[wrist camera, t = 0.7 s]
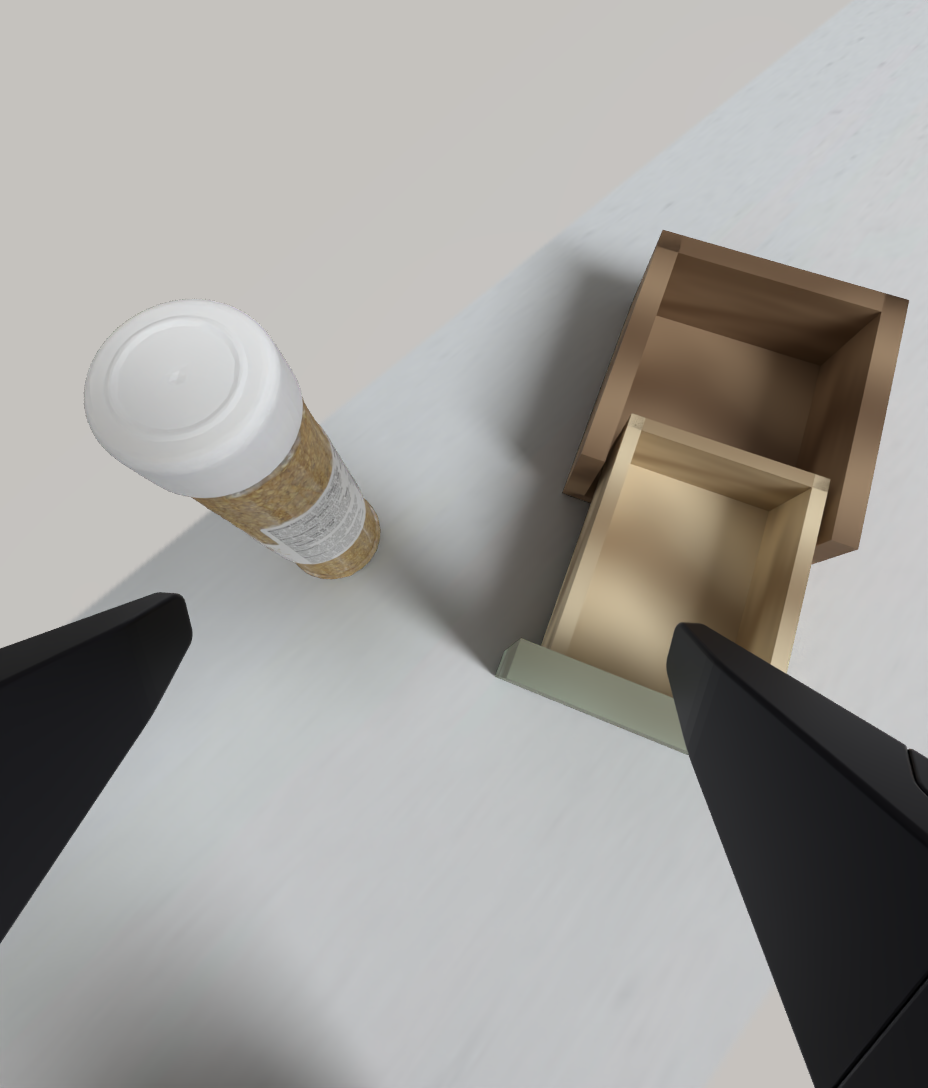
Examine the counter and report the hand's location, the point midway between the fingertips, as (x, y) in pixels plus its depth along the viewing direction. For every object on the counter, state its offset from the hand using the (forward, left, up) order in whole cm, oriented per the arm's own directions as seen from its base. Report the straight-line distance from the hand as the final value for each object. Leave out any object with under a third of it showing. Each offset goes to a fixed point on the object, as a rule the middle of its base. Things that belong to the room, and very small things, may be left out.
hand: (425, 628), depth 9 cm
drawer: (+3, -9, -14) cm, 17 cm away
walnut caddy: (+12, -12, -14) cm, 22 cm away
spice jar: (+6, +6, -14) cm, 16 cm away
